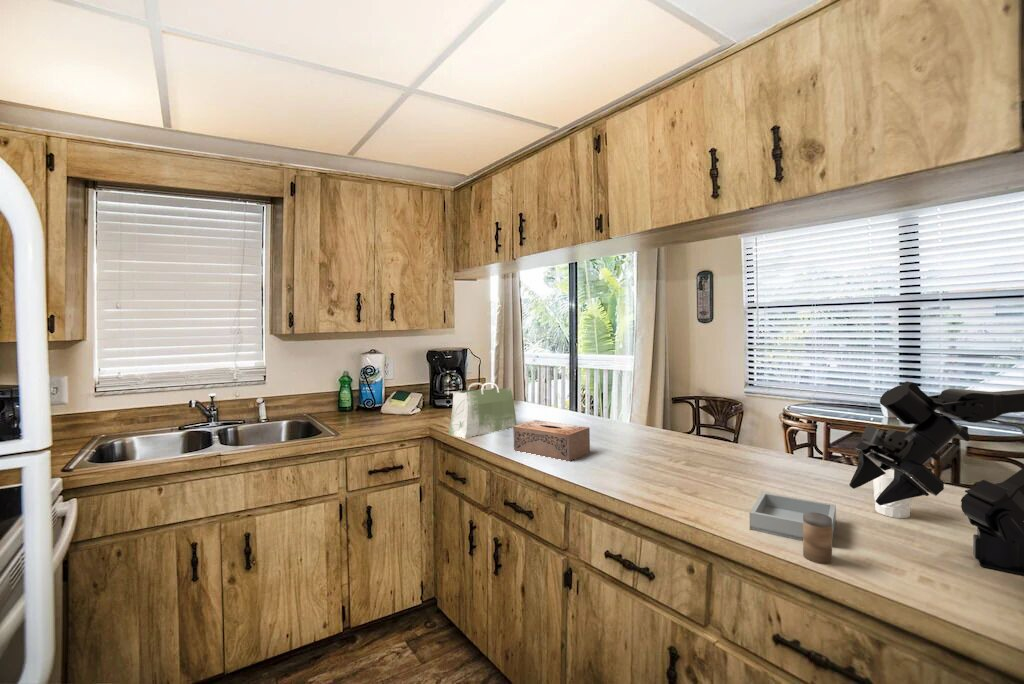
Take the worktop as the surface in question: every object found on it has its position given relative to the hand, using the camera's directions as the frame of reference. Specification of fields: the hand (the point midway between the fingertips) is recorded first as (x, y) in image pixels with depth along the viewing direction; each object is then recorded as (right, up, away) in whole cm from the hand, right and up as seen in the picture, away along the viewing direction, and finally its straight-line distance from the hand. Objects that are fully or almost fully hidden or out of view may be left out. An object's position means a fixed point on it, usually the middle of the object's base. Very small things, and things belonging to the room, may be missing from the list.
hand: (863, 494), depth 96 cm
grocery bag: (-85, -11, +128) cm, 154 cm away
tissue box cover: (-56, -12, +88) cm, 105 cm away
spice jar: (-8, -13, +2) cm, 16 cm away
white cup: (+24, -12, +22) cm, 35 cm away
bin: (-4, -13, +17) cm, 22 cm away
